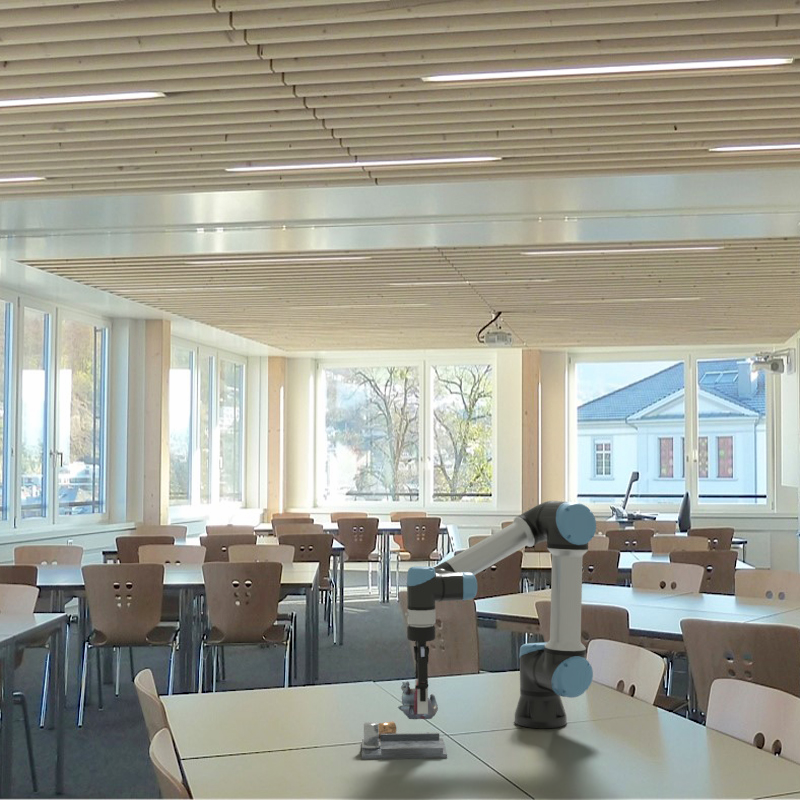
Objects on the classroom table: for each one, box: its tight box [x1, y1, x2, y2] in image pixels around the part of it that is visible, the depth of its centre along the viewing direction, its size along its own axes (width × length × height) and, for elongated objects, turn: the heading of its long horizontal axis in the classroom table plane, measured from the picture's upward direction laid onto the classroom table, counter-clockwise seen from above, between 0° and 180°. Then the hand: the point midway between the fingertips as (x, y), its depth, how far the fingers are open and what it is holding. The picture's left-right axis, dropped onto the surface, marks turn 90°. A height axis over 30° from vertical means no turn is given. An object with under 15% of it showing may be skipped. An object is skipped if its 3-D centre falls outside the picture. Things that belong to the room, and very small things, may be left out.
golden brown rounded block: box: [379, 721, 397, 738], centre depth 303 cm, size 6×4×4 cm, turn 122°
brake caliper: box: [397, 681, 439, 720], centre depth 288 cm, size 11×11×12 cm
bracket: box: [361, 721, 448, 760], centre depth 287 cm, size 22×16×7 cm
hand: (421, 708), depth 287 cm, fingers closed on brake caliper, 11 cm apart
